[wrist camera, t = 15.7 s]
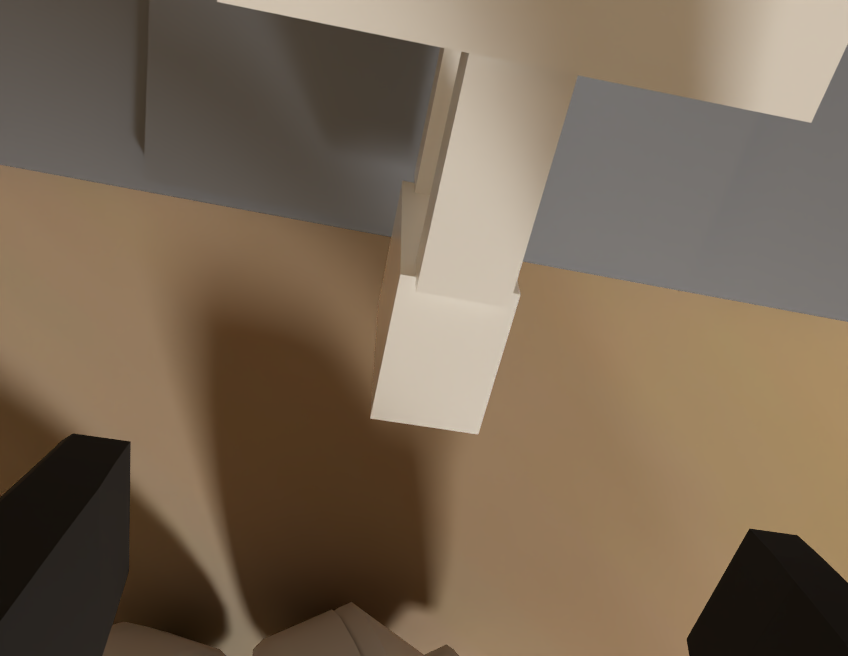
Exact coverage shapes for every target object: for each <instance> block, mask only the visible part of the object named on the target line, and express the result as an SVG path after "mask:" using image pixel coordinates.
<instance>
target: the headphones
mask: <svg viewBox="0 0 848 656" xmlns="http://www.w3.org/2000/svg"><path fill="white" fill-rule="evenodd" d="M103 656H226V655H225V654H224V653H223V652H222V651H221V650H220V649H217V648H214V647H211V646H208V645H205V644H201V643H198V642H195V641H192V640H189V639H186V638H183V637H180V636H177V635H174V634H171V633H168V632H165V631H160V630H157V629H154V628H151V627H146V626H142V625H137V624H133V623H128V622H121V623H117V624H114V625H112V628H111V631H110V634H109V637H108V640H107V643H106V646H105V649H104V653H103ZM253 656H459V655H458V654H457V653H456V652H455V650H454V649H452V648H451V647H449V646H448V645H444V646H442V647H440V648H438V649H436V650H434V651H431V652H429V653H427V654H425V655H423V654H422V653H421V652H419V651H418V650H417V649H415V648H414V647H412V646H411V645H410V644H408V643H407V642H406V641H404V640H403V639H401V638H400V637H399V636H397V635H396V634H395V633H393V632H392V631H391V630H389V629H388V628H386V627H385V626H384V625H382V624H381V623H380V622H378V621H377V620H375V619H374V618H373V617H371V616H370V615H369V614H367V613H366V612H365V611H363V610H362V609H360V608H359V607H358V606H356V605H355V604H354V603H352V602H350V603H348V604H346V605H343V606H341V607H339V608H337V609H336V610H335V611H333V610H330V611H327V612H325V613H323V614H320V615H318V616H316V617H313V618H311V619H309V620H306V621H304V622H302V623H299V624H297V625H295V626H292V627H290V628H288V629H286V630H283V631H281V632H279V633H276V634H274V635H272V636H269V637H267V638H265V639H263V640H262V641H261V642H260V643H259V644H258V645H257V646H256V647H255V648H254V649H253Z"/></svg>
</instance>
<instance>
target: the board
mask: <svg viewBox="0 0 848 656" xmlns="http://www.w3.org/2000/svg"><path fill="white" fill-rule="evenodd" d="M439 51H440V47H436V46H431V45H426V44H422V43H417V42H412V41H407V40H402V39H397V38H392V37H387V36H382V35H377V34H372V33H368V32H363V31H358V30H353V29H348V28H343V27H338V26H333V25H328V24H323V23H318V22H314V21H309V20H304V19H299V18H294V17H289V16H284V15H279V14H274V13H269V12H264V11H260V10H255V9H250V8H245V7H240V6H235V5H230V4H225V3H220V2H217V0H0V165H5V166H11V167H16V168H22V169H27V170H32V171H38V172H43V173H49V174H54V175H59V176H65V177H70V178H75V179H81V180H86V181H92V182H97V183H102V184H108V185H113V186H119V187H124V188H129V189H135V190H140V191H146V192H151V193H156V194H162V195H167V196H173V197H178V198H183V199H189V200H194V201H200V202H205V203H210V204H216V205H221V206H226V207H232V208H237V209H243V210H248V211H253V212H259V213H264V214H270V215H275V216H280V217H286V218H291V219H297V220H302V221H307V222H313V223H318V224H324V225H329V226H334V227H340V228H345V229H351V230H356V231H361V232H367V233H372V234H378V235H383V236H388V237H391V236H392V231H393V226H394V221H395V216H396V211H397V206H398V201H399V196H400V190H401V185H402V181H407V182H413V183H415V181H414V173H415V168H416V164H417V159H418V154H419V149H420V144H421V139H422V134H423V129H424V124H425V119H426V115H427V110H428V105H429V100H430V95H431V90H432V85H433V80H434V75H435V70H436V66H437V61H438V56H439ZM523 262H529V263H534V264H539V265H545V266H550V267H556V268H561V269H566V270H572V271H577V272H582V273H588V274H593V275H599V276H604V277H609V278H615V279H620V280H626V281H631V282H636V283H642V284H647V285H653V286H658V287H663V288H669V289H674V290H680V291H685V292H690V293H696V294H701V295H707V296H712V297H717V298H723V299H728V300H733V301H739V302H744V303H750V304H755V305H760V306H766V307H771V308H777V309H782V310H787V311H793V312H798V313H804V314H809V315H814V316H820V317H825V318H831V319H836V320H841V321H847V322H848V44H847V47H846V49H845V51H844V53H843V55H842V57H841V60H840V62H839V64H838V66H837V68H836V70H835V73H834V75H833V77H832V79H831V81H830V83H829V85H828V88H827V90H826V92H825V94H824V96H823V98H822V101H821V103H820V105H819V107H818V109H817V111H816V114H815V116H814V118H813V120H812V122H811V123H809V122H804V121H800V120H795V119H790V118H785V117H780V116H775V115H770V114H765V113H760V112H755V111H750V110H746V109H741V108H736V107H731V106H726V105H721V104H716V103H711V102H706V101H701V100H696V99H692V98H687V97H682V96H677V95H672V94H667V93H662V92H657V91H652V90H647V89H642V88H638V87H633V86H628V85H623V84H618V83H613V82H608V81H603V80H598V79H593V78H588V77H584V76H579V75H578V77H577V80H576V83H575V87H574V90H573V93H572V97H571V100H570V104H569V107H568V110H567V114H566V117H565V120H564V124H563V127H562V131H561V134H560V137H559V141H558V144H557V147H556V151H555V154H554V157H553V161H552V164H551V168H550V171H549V174H548V178H547V181H546V184H545V188H544V191H543V194H542V198H541V201H540V205H539V208H538V211H537V215H536V218H535V221H534V225H533V228H532V232H531V235H530V238H529V242H528V245H527V248H526V252H525V255H524V258H523Z"/></svg>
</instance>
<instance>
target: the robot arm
mask: <svg viewBox="0 0 848 656" xmlns="http://www.w3.org/2000/svg"><path fill="white" fill-rule="evenodd" d="M129 522H130V442H129V441H122V440H115V439H108V438H101V437H94V436H86V435H79V434H72V435H70V436H68V437H67V438H65V439H64V440H62V441H61V442H60V443H59V444H58V445H57V446H56V447H55V448H54V449H53V450H51V451H50V452H49V453H48V454H47V455H46V456H45V457H44V458H43V459H42V460H41V461H40V462H39V463H37V464H36V465H35V466H34V467H33V468H32V469H31V470H30V471H29V472H28V473H27V474H26V475H24V476H23V477H22V478H21V479H20V480H19V481H18V482H17V483H16V484H15V485H14V486H12V487H11V488H10V489H9V490H8V491H7V492H6V493H5V494H4V495H3V496H1V497H0V656H103V653H104V649H105V646H106V643H107V640H108V637H109V634H110V631H111V628H112V624H113V621H114V618H115V615H116V612H117V608H118V605H119V602H120V598H121V595H122V592H123V589H124V585H125V582H126V579H127V575H128V572H129ZM687 644H688V650H689V656H848V583H847V582H846V581H845V580H844V579H843V578H842V577H841V576H840V575H839V574H838V573H837V572H836V571H835V570H834V569H833V568H832V567H831V566H830V565H829V564H828V563H827V562H826V561H825V560H824V559H823V558H822V557H820V556H819V555H818V554H817V553H816V552H815V551H814V550H813V549H812V548H811V547H810V546H809V545H807V544H806V543H805V542H804V541H803V540H802V539H801V538H800V537H799V536H797V535H791V534H784V533H777V532H770V531H762V530H755V529H749V531H748V532H747V534H746V536H745V538H744V539H743V541H742V543H741V545H740V546H739V548H738V550H737V552H736V553H735V555H734V557H733V559H732V560H731V562H730V564H729V566H728V567H727V569H726V571H725V573H724V574H723V576H722V578H721V580H720V581H719V583H718V585H717V587H716V588H715V590H714V592H713V594H712V595H711V597H710V599H709V601H708V602H707V604H706V606H705V608H704V609H703V611H702V613H701V615H700V616H699V618H698V620H697V622H696V623H695V625H694V627H693V629H692V631H691V632H690V634H689V636H688V638H687Z"/></svg>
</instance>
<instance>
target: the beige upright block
mask: <svg viewBox="0 0 848 656" xmlns="http://www.w3.org/2000/svg"><path fill="white" fill-rule="evenodd" d="M217 2H220V3H225V4H230V5H235V6H240V7H245V8H250V9H255V10H260V11H264V12H269V13H274V14H279V15H284V16H289V17H294V18H299V19H304V20H309V21H314V22H318V23H323V24H328V25H333V26H338V27H343V28H348V29H353V30H358V31H363V32H368V33H372V34H377V35H382V36H387V37H392V38H397V39H402V40H407V41H412V42H417V43H422V44H426V45H431V46H436V47H440V51H439V56H438V61H437V66H436V70H435V75H434V80H433V85H432V90H431V95H430V100H429V105H428V110H427V115H426V119H425V124H424V129H423V134H422V139H421V144H420V149H419V154H418V159H417V164H416V168H415V173H414V181H415V183H413V182H407V181H402V185H401V190H400V196H399V201H398V206H397V211H396V216H395V221H394V226H393V231H392V236H391V241H390V246H389V252H388V257H387V262H386V267H385V272H384V277H383V282H382V287H381V292H380V297H379V302H378V311H377V326H376V341H375V355H374V370H373V385H372V400H371V415H370V419H377V420H384V421H391V422H397V423H404V424H411V425H418V426H425V427H431V428H438V429H445V430H452V431H459V432H465V433H472V434H478V433H479V430H480V427H481V423H482V420H483V417H484V413H485V410H486V407H487V403H488V400H489V397H490V394H491V390H492V387H493V384H494V380H495V377H496V374H497V370H498V367H499V364H500V361H501V357H502V354H503V351H504V347H505V344H506V341H507V337H508V334H509V331H510V328H511V324H512V321H513V318H514V314H515V311H516V308H517V304H518V301H519V298H520V291H519V286H518V282H517V279H518V275H519V272H520V269H521V265H522V262H523V258H524V255H525V252H526V248H527V245H528V242H529V238H530V235H531V232H532V228H533V225H534V221H535V218H536V215H537V211H538V208H539V205H540V201H541V198H542V194H543V191H544V188H545V184H546V181H547V178H548V174H549V171H550V168H551V164H552V161H553V157H554V154H555V151H556V147H557V144H558V141H559V137H560V134H561V131H562V127H563V124H564V120H565V117H566V114H567V110H568V107H569V104H570V100H571V97H572V93H573V90H574V87H575V83H576V80H577V77H578V75H579V76H584V77H588V78H593V79H598V80H603V81H608V82H613V83H618V84H623V85H628V86H633V87H638V88H642V89H647V90H652V91H657V92H662V93H667V94H672V95H677V96H682V97H687V98H692V99H696V100H701V101H706V102H711V103H716V104H721V105H726V106H731V107H736V108H741V109H746V110H750V111H755V112H760V113H765V114H770V115H775V116H780V117H785V118H790V119H795V120H800V121H804V122H809V123H811V122H812V120H813V118H814V116H815V114H816V111H817V109H818V107H819V105H820V103H821V101H822V98H823V96H824V94H825V92H826V90H827V88H828V85H829V83H830V81H831V79H832V77H833V75H834V73H835V70H836V68H837V66H838V64H839V62H840V60H841V57H842V55H843V53H844V51H845V49H846V47H847V44H848V0H217Z"/></svg>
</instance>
